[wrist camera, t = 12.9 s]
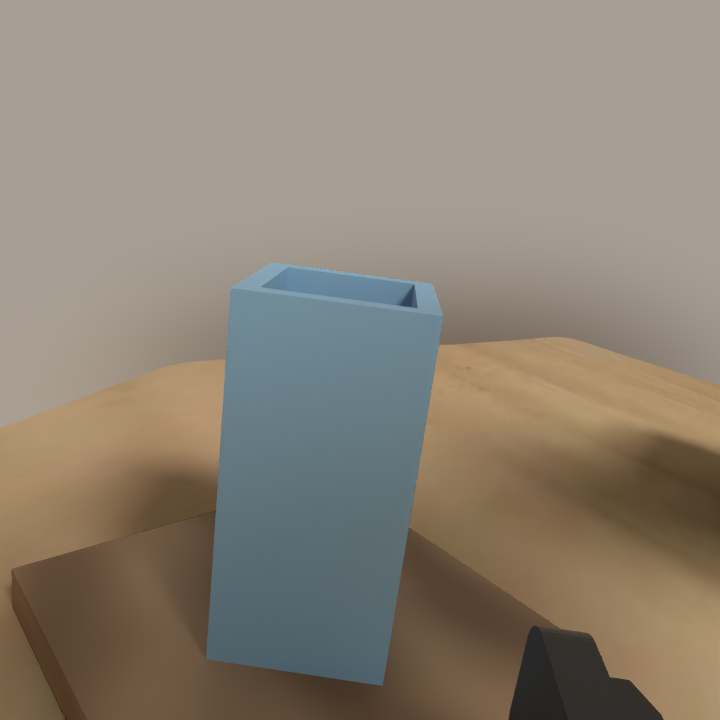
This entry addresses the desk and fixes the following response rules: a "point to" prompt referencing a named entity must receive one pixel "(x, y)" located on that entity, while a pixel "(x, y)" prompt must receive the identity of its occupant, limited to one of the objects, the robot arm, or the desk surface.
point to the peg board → (248, 683)
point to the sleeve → (318, 467)
